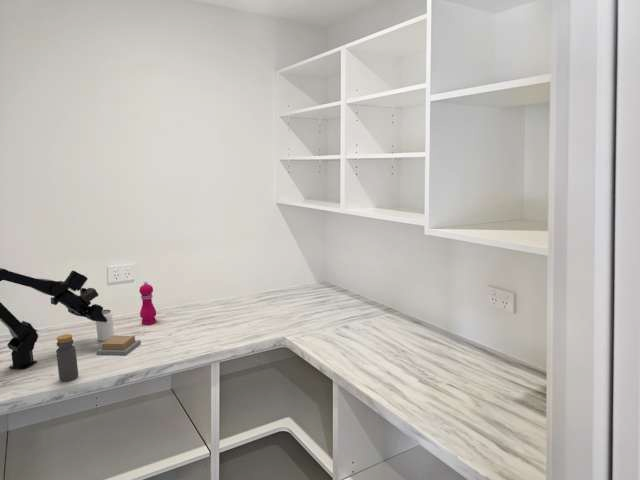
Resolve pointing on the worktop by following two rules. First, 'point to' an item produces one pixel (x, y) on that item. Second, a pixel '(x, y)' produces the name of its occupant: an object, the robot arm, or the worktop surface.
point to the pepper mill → (147, 304)
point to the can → (105, 327)
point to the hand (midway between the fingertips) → (100, 319)
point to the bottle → (66, 358)
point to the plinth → (119, 352)
